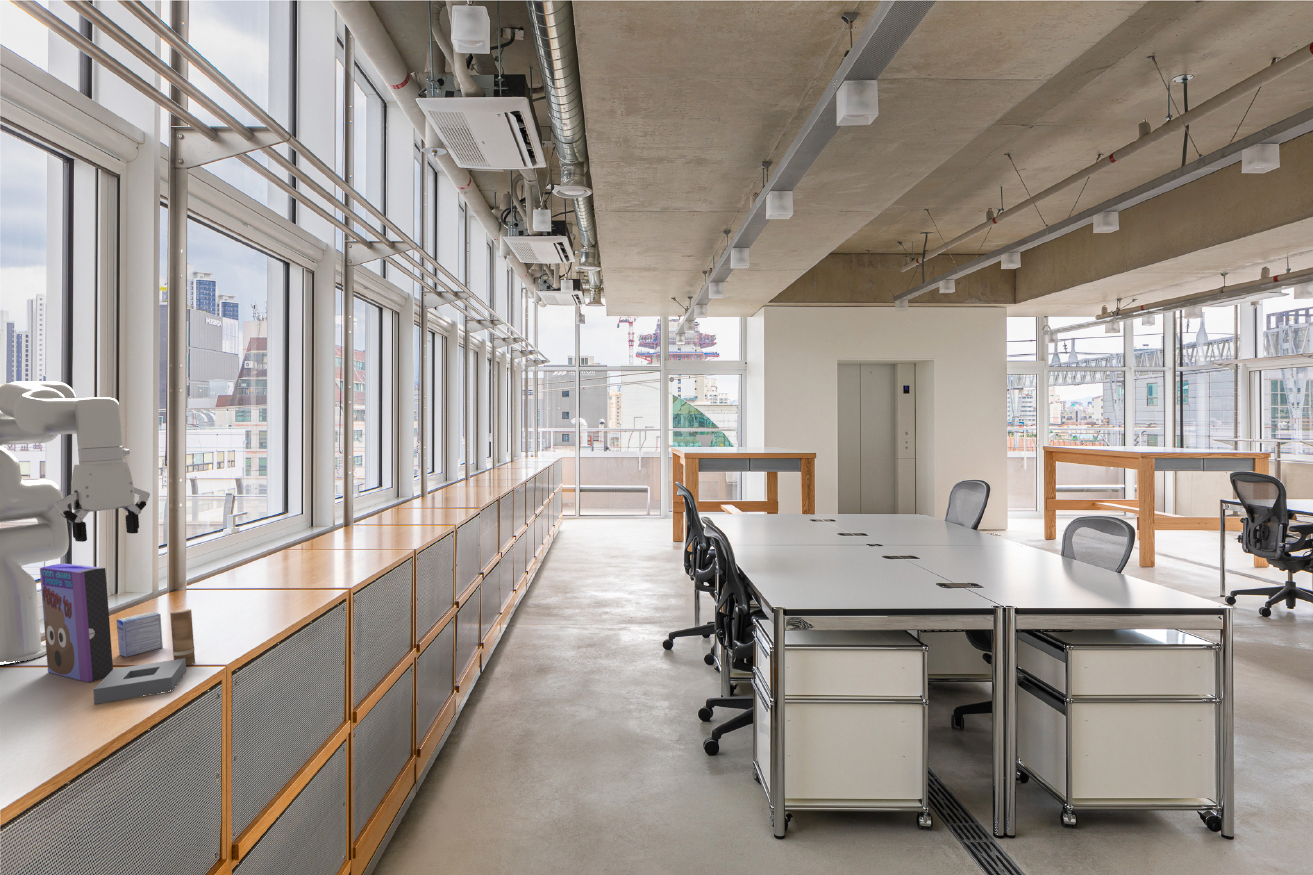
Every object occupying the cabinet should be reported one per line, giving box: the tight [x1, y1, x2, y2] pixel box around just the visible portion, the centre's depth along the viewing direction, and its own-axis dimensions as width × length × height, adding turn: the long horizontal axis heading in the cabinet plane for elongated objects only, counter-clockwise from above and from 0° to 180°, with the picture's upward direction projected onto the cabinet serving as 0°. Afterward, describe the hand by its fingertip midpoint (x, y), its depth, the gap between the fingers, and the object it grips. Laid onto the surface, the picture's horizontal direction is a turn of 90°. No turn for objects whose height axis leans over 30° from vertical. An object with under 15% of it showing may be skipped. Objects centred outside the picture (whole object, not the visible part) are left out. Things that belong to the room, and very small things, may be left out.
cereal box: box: [39, 563, 114, 684], centre depth 161 cm, size 17×5×24 cm, turn 62°
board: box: [93, 658, 187, 705], centre depth 151 cm, size 13×13×3 cm
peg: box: [170, 608, 196, 666], centre depth 165 cm, size 4×4×12 cm
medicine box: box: [116, 611, 164, 658], centre depth 176 cm, size 8×4×9 cm, turn 144°
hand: (107, 537), depth 154 cm, fingers open, 9 cm apart
